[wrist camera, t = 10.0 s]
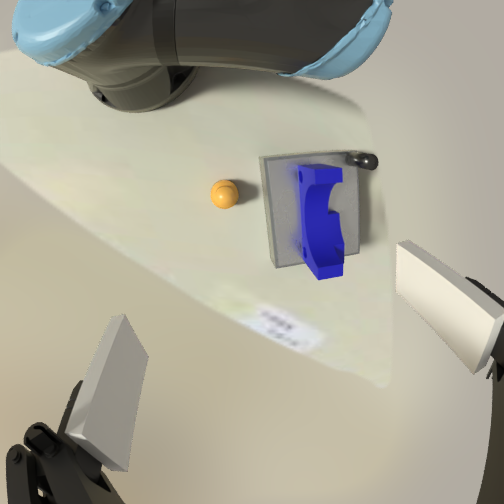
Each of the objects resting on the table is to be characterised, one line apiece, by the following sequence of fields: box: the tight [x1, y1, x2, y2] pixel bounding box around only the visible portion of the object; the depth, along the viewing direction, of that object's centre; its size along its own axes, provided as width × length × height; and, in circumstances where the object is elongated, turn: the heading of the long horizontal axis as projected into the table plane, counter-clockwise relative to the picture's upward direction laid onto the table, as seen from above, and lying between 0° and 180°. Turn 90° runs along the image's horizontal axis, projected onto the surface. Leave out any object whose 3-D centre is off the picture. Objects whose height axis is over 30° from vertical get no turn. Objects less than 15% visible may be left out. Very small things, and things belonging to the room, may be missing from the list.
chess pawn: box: [211, 180, 239, 209], centre depth 34 cm, size 3×3×4 cm
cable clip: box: [298, 164, 345, 280], centre depth 31 cm, size 12×4×6 cm, turn 6°
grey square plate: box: [259, 150, 378, 268], centre depth 34 cm, size 14×12×9 cm
